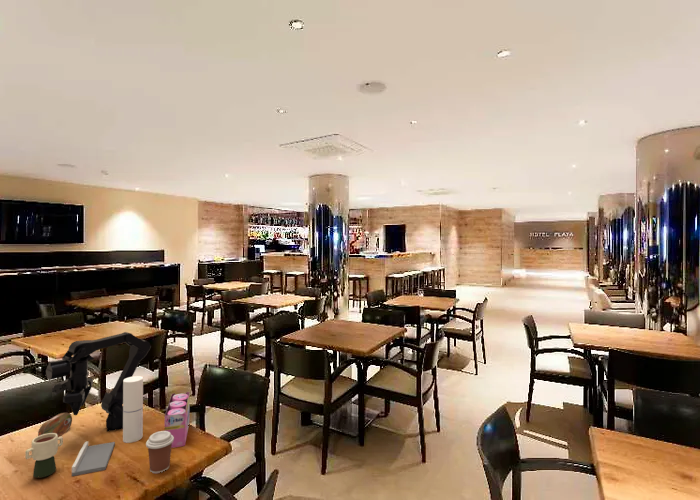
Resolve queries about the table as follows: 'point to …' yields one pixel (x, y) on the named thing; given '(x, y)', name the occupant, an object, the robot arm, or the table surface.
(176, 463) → the table surface
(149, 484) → the table surface
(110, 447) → the shelf board
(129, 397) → the cylindrical container
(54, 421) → the tin
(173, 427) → the gum box
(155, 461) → the coffee cup
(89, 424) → the table surface
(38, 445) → the character mug
